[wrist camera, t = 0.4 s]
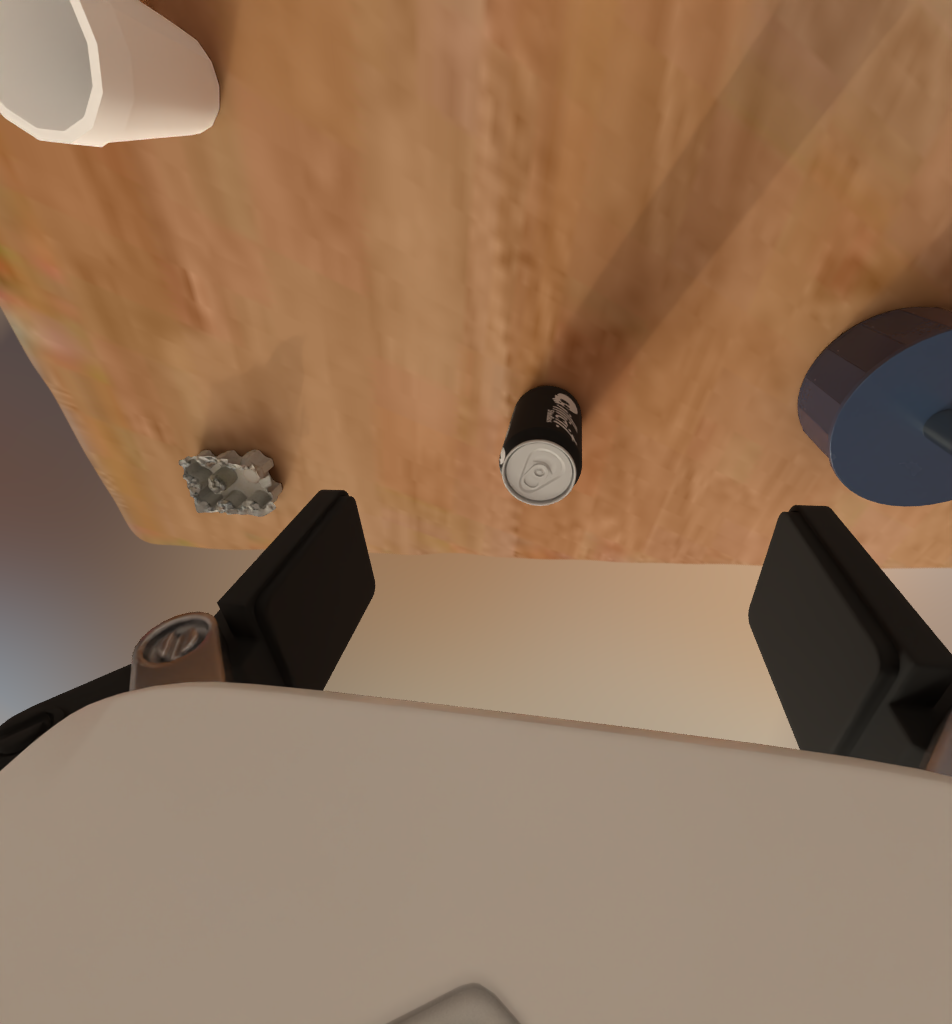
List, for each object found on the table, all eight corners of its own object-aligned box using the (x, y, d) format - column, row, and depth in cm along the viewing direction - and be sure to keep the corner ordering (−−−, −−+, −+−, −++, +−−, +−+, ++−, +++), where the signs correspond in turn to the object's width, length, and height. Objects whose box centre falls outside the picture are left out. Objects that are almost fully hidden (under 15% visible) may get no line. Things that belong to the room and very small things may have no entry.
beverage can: (596, 409, 45) (600, 468, 35) (553, 457, 49) (546, 524, 39) (540, 369, 44) (529, 418, 34) (501, 421, 48) (480, 480, 38)
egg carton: (272, 448, 55) (252, 464, 51) (289, 503, 59) (272, 521, 55) (191, 444, 56) (166, 460, 53) (213, 498, 60) (191, 516, 57)
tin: (821, 311, 37) (869, 334, 31) (1013, 301, 35) (1105, 323, 29) (781, 455, 44) (813, 496, 38) (938, 454, 42) (1000, 499, 36)
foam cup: (101, 60, 37) (-92, 6, 26) (165, -43, 33) (-32, -156, 22) (194, 184, 41) (58, 180, 30) (262, 104, 37) (132, 67, 26)
